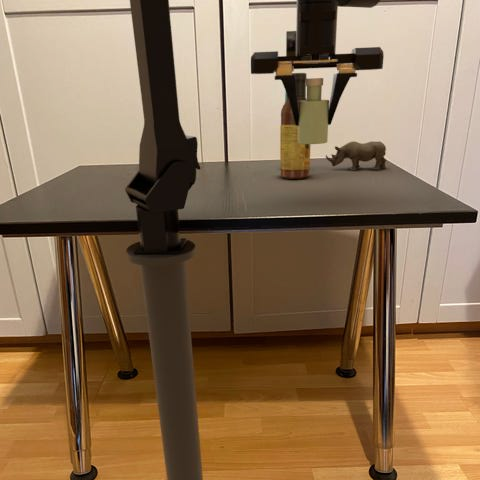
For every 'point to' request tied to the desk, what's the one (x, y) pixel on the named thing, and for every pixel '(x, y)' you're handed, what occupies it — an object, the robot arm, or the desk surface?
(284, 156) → the sauce bottle
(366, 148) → the rhino figurine
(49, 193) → the desk surface
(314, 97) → the small bottle
